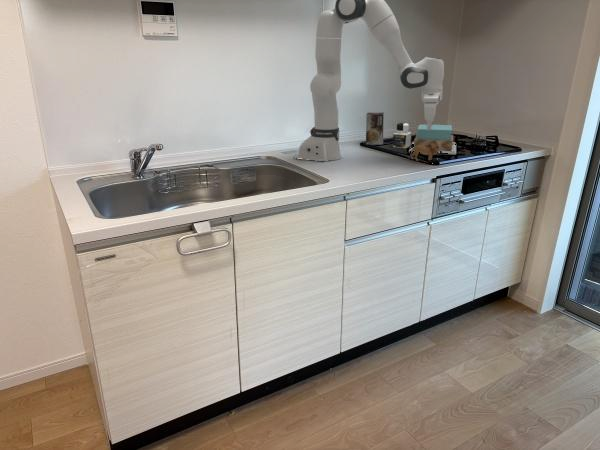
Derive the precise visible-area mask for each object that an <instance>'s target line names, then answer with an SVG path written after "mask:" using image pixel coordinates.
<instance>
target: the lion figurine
mask: <svg viewBox="0 0 600 450" xmlns="http://www.w3.org/2000/svg"><path fill="white" fill-rule="evenodd" d="M440 149H441V142H439V141H435V142H434V143H432V144H430V145H428V146H426V147H423V146H419V145H417V146H415V147H413V149H412V151H411V153H410V154H409V157H407V158H406V159H407V160H410V159H412V160H414V159H415V161H417V162H420V159H418V156H419V154H420V155H421V154H422V155H424V156H427V157H428V159H427V160H429V161H430V160H433V156H434V155H438V154H437V152H439V151H440ZM413 150H414V152H413ZM412 152H413V153H412ZM419 152H420V153H419Z"/></svg>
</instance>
